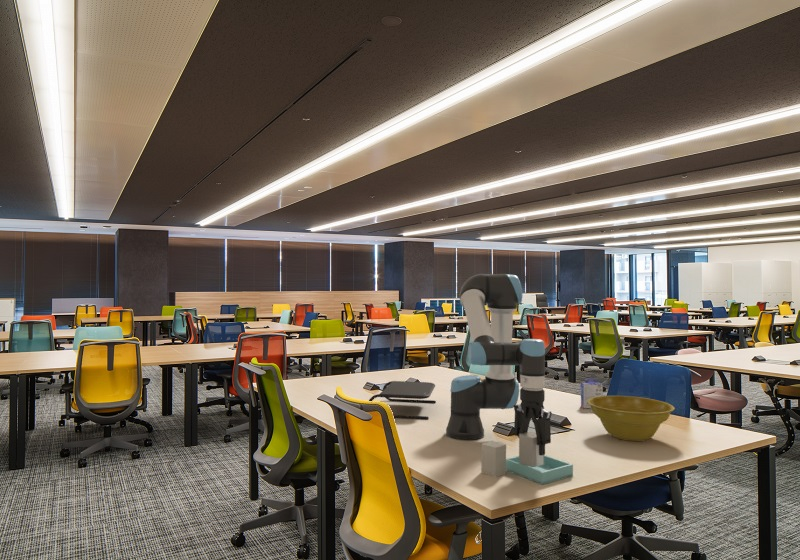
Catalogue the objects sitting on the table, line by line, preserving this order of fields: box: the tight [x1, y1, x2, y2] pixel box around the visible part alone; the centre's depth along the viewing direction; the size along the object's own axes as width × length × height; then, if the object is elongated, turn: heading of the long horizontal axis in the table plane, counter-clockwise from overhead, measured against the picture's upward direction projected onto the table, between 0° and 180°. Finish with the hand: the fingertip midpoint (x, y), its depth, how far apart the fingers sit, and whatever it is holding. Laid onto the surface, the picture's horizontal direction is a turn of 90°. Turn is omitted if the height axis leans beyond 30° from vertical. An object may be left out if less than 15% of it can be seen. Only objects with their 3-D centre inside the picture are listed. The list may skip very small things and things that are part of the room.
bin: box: [506, 454, 574, 485], centre depth 170 cm, size 15×14×4 cm
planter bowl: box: [587, 395, 676, 442], centre depth 215 cm, size 32×32×13 cm
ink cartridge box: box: [580, 377, 604, 409], centre depth 269 cm, size 10×6×14 cm, turn 89°
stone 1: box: [480, 440, 507, 478], centre depth 170 cm, size 6×6×9 cm
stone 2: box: [518, 431, 544, 467], centre depth 168 cm, size 6×6×9 cm
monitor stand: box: [368, 380, 437, 420], centre depth 259 cm, size 37×28×11 cm
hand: (531, 462), depth 168 cm, fingers closed on stone 2, 5 cm apart
